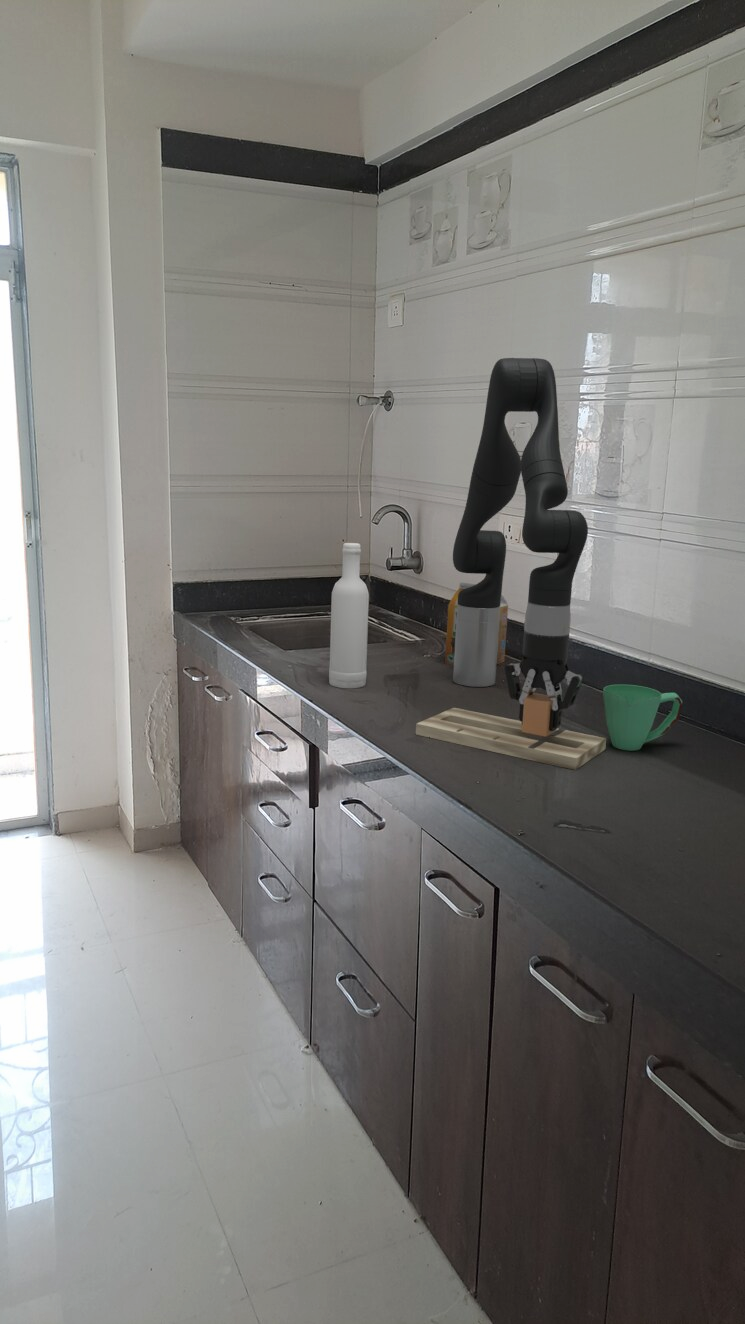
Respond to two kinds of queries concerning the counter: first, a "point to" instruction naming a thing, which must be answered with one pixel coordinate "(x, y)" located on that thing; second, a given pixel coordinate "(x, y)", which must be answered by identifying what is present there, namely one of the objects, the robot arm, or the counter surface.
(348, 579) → the bottle
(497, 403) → the robot arm
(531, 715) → the fader knob
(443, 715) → the board
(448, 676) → the counter surface
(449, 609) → the milk carton
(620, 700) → the mug
